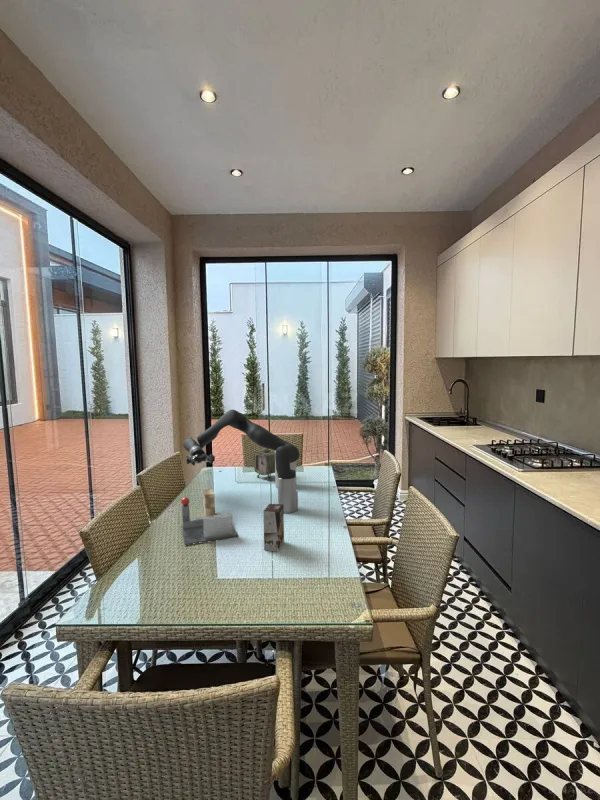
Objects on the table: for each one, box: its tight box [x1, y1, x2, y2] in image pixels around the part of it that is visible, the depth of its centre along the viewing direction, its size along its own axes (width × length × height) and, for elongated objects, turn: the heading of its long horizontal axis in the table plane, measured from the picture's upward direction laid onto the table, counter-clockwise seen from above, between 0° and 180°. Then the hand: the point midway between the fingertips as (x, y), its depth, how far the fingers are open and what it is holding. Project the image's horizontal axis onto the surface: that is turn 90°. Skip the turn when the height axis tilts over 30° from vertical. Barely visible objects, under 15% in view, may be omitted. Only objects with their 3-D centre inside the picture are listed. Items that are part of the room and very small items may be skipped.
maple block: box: [202, 488, 216, 517], centre depth 193 cm, size 4×8×12 cm, turn 21°
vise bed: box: [180, 513, 239, 546], centre depth 173 cm, size 22×20×9 cm
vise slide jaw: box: [180, 496, 230, 529], centre depth 179 cm, size 21×4×14 cm, turn 111°
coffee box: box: [263, 503, 285, 552], centre depth 159 cm, size 9×6×16 cm
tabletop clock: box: [253, 447, 275, 482], centre depth 256 cm, size 14×9×25 cm, turn 43°
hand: (202, 462), depth 199 cm, fingers open, 8 cm apart
